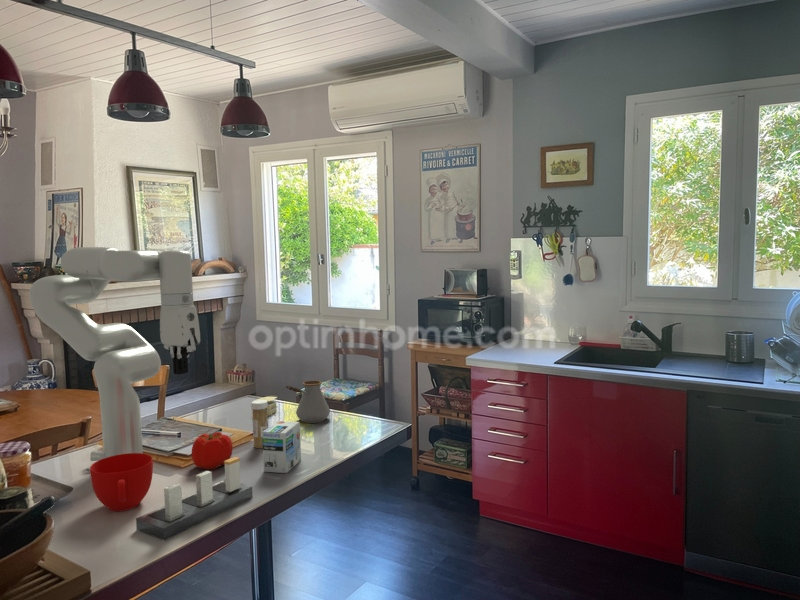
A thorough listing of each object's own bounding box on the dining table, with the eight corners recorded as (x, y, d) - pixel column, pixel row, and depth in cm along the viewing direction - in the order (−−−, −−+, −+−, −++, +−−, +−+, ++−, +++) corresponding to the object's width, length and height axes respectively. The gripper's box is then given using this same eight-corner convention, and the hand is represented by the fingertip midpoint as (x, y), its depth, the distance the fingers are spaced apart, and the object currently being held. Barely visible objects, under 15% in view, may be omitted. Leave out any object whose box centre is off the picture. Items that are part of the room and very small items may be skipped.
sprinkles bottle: (269, 447, 174) (267, 402, 173) (253, 449, 173) (251, 403, 172) (269, 443, 178) (267, 398, 177) (253, 444, 177) (251, 399, 176)
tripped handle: (230, 492, 135) (229, 462, 134) (225, 490, 136) (223, 461, 135) (241, 487, 138) (239, 457, 137) (235, 485, 139) (234, 456, 138)
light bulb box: (287, 474, 153) (285, 433, 153) (262, 472, 155) (261, 431, 154) (301, 459, 164) (300, 421, 163) (279, 458, 165) (277, 420, 164)
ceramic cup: (89, 530, 124) (85, 483, 123) (94, 499, 140) (91, 458, 139) (156, 518, 129) (153, 473, 128) (154, 489, 145) (152, 449, 144)
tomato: (241, 463, 162) (240, 432, 161) (208, 476, 152) (207, 443, 152) (215, 456, 167) (214, 426, 167) (182, 469, 158) (180, 437, 158)
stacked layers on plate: (265, 409, 217) (264, 394, 217) (285, 411, 214) (285, 396, 213) (247, 416, 208) (246, 401, 208) (268, 419, 205) (268, 403, 204)
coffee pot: (307, 413, 209) (306, 371, 208) (336, 417, 205) (335, 374, 203) (271, 431, 190) (270, 385, 188) (302, 435, 185) (301, 387, 184)
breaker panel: (164, 540, 119) (162, 495, 118) (136, 530, 124) (134, 486, 123) (252, 496, 139) (251, 458, 139) (225, 489, 144) (224, 451, 143)
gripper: (209, 300, 147) (213, 373, 149) (170, 298, 155) (174, 367, 157) (184, 302, 141) (188, 379, 143) (145, 300, 149) (148, 373, 150)
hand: (180, 373), depth 150 cm, fingers closed
